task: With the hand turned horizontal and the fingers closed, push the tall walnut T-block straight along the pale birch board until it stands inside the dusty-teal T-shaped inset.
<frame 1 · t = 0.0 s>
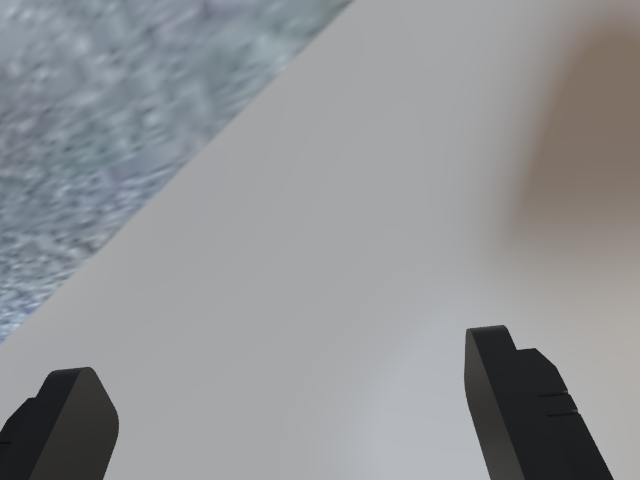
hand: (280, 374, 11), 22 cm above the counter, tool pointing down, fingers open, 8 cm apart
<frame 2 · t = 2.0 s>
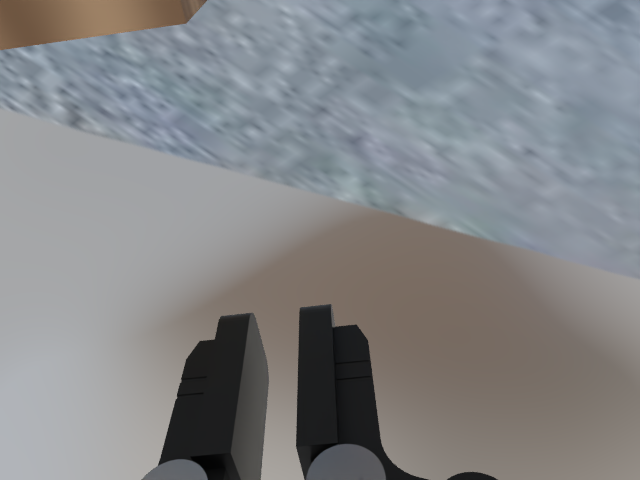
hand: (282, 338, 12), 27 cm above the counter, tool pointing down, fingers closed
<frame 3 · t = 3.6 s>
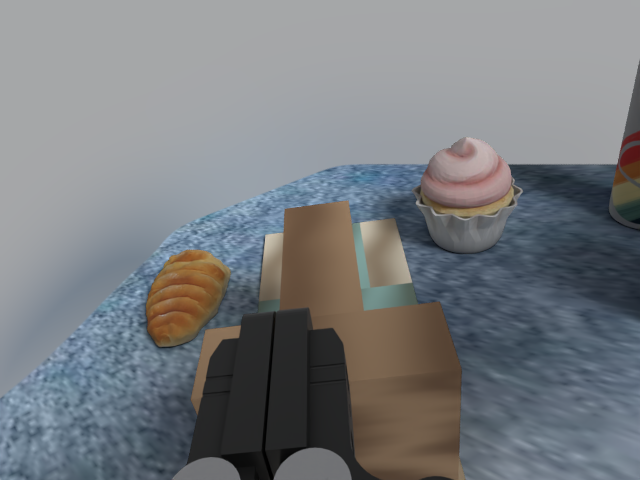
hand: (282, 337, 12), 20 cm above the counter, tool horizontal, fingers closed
t block: (344, 419, 34), resting on board
board: (338, 338, 40), on the counter
pastry: (193, 308, 46), on the counter
cupcake: (464, 237, 49), on the counter
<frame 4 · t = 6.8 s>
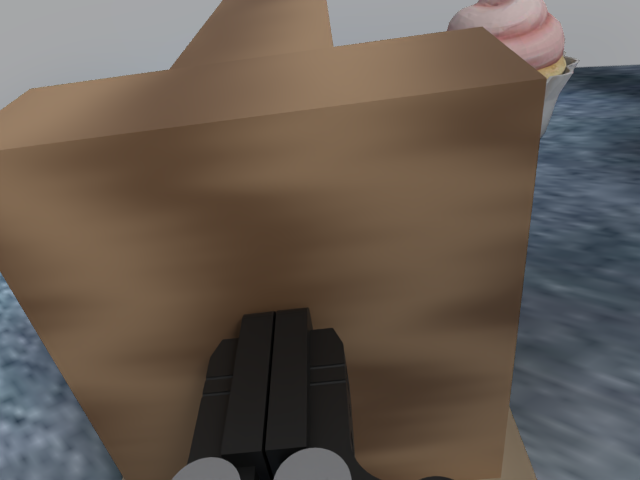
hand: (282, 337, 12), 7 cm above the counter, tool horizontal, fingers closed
t block: (315, 331, 22), resting on board, touching gripper
board: (317, 247, 27), on the counter
cupcake: (494, 137, 36), on the counter
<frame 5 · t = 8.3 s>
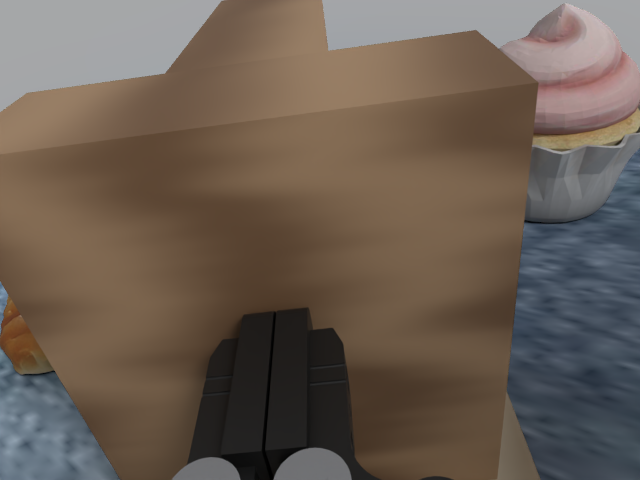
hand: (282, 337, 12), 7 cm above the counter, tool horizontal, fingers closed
t block: (313, 333, 22), resting on board, touching gripper
board: (322, 373, 20), on the counter
pastry: (99, 304, 27), on the counter
cupcake: (541, 198, 29), on the counter
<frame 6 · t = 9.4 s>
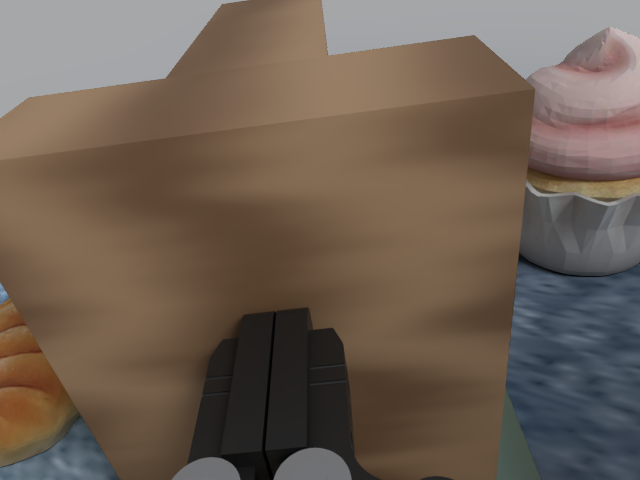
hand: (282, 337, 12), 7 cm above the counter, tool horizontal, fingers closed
t block: (313, 335, 22), resting on board, touching gripper
board: (325, 477, 17), on the counter
pastry: (74, 368, 23), on the counter
cupcake: (573, 243, 26), on the counter
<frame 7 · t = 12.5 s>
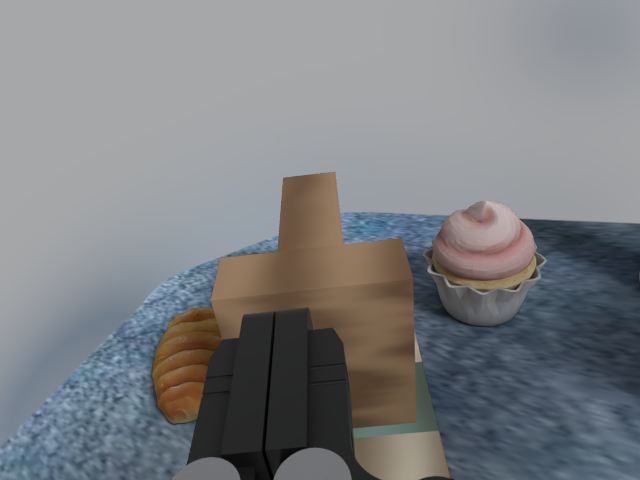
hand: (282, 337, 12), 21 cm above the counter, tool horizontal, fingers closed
t block: (329, 353, 40), resting on board
board: (338, 430, 35), on the counter
pastry: (203, 373, 41), on the counter
cupcake: (479, 305, 44), on the counter
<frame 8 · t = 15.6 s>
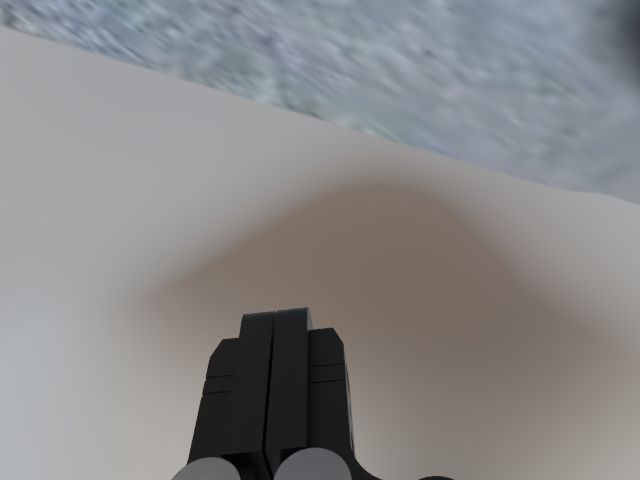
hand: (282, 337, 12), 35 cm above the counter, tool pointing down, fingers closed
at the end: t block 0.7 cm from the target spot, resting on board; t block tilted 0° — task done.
